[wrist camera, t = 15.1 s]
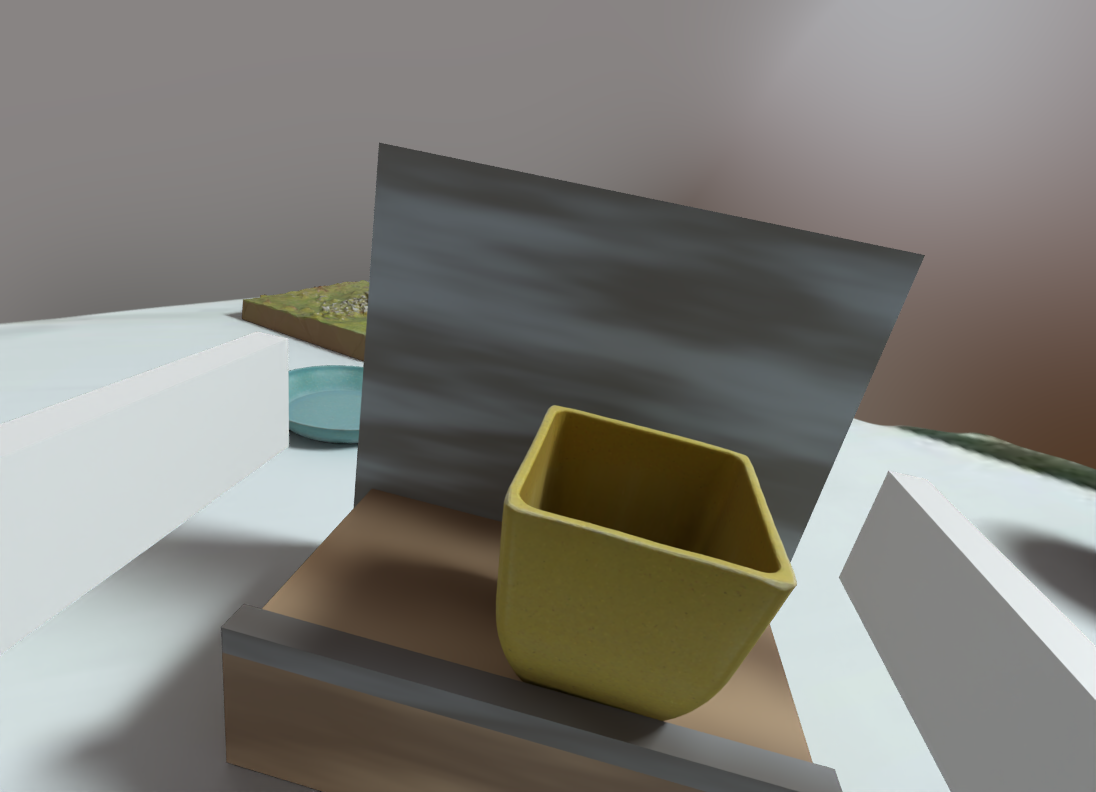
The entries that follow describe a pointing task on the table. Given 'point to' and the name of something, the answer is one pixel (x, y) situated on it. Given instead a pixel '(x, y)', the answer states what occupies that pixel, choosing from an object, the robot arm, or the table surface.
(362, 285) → the miniature landscape model
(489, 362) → the book stand
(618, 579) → the flower pot
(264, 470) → the table surface
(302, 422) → the saucer
